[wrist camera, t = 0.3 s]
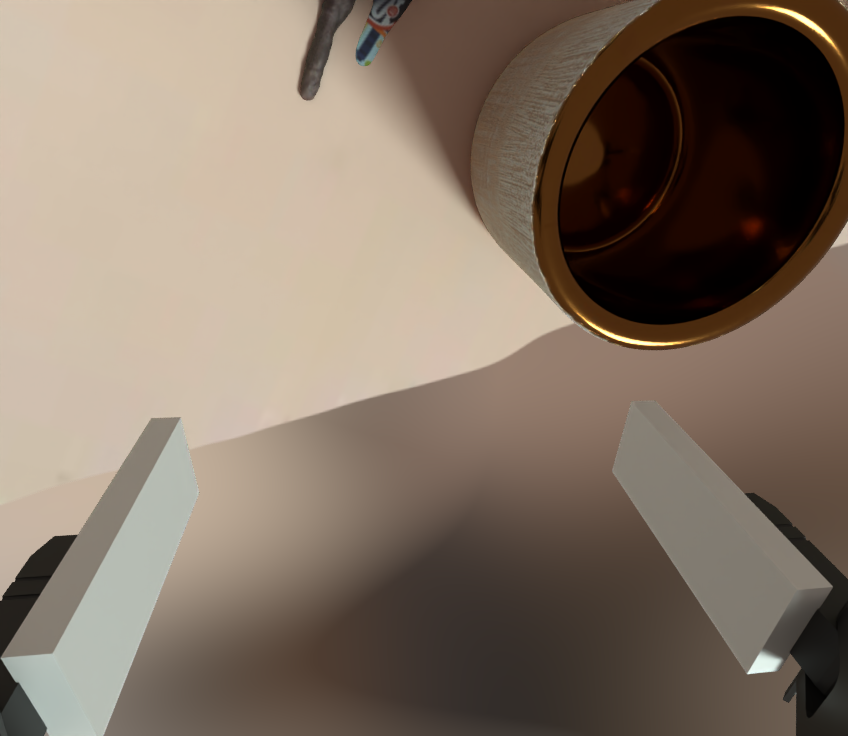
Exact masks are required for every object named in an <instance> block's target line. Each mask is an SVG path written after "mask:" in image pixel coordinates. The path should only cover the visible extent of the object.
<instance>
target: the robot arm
mask: <svg viewBox="0 0 848 736" xmlns="http://www.w3.org/2000/svg"><path fill="white" fill-rule="evenodd" d="M612 472H613V473H614V475H615V476H616V478H617V479H618V481H619V482H620V484H621V485H622V487H623V488H624V490H625V491H626V493H627V494H628V496H629V497H630V499H631V500H632V502H633V503H634V505H635V506H636V508H637V509H638V511H639V512H640V514H641V515H642V517H643V518H644V520H645V521H646V523H647V524H648V526H649V527H650V529H651V530H652V532H653V533H654V535H655V536H656V538H657V539H658V541H659V542H660V544H661V545H662V547H663V548H664V550H665V551H666V553H667V554H668V556H669V557H670V559H671V560H672V562H673V563H674V565H675V566H676V568H677V569H678V571H679V572H680V574H681V575H682V577H683V578H684V580H685V581H686V583H687V584H688V586H689V587H690V589H691V591H692V592H693V594H694V595H695V596H696V598H697V599H698V601H699V603H700V604H701V606H702V607H703V608H704V610H705V612H706V613H707V615H708V616H709V617H710V619H711V621H712V622H713V624H714V625H715V626H716V628H717V629H718V631H719V633H720V634H721V636H722V637H723V639H724V640H725V642H726V643H727V645H728V646H729V648H730V649H731V651H732V652H733V654H734V655H735V657H736V658H737V659H738V661H739V663H740V664H741V666H742V667H743V669H744V670H745V672H746V673H747V674H751V673H761V672H770V671H779V670H780V669H781V667H782V666H783V664H784V662H785V661H786V659H787V658H788V656H789V655H790V653H791V655H792V656H793V657H794V658H795V660H796V661H797V662H798V664H799V665H800V666H801V670H800V671H799V673H798V675H797V676H796V677H795V679H794V680H793V682H792V683H791V684H790V686H789V687H788V689H787V690H786V692H785V695H784V697H783V700H784V701H786V702H788V703H789V702H790V700H791V699H792V697H793V696H794V695H795V694H796V736H848V579H847V578H846V577H845V576H844V575H843V574H842V573H841V572H840V571H839V570H838V569H837V568H836V567H835V566H834V565H833V564H832V563H831V562H830V561H829V560H828V559H827V558H826V557H825V556H824V555H823V554H822V553H821V552H820V551H819V550H818V549H817V548H816V547H815V546H814V545H813V544H812V543H811V542H810V541H807V540H806V538H805V536H804V535H803V534H802V533H801V532H800V531H799V530H798V529H797V528H796V527H793V526H792V523H791V522H790V521H789V520H788V519H787V518H786V517H785V516H784V515H783V514H782V513H781V512H780V511H779V510H778V509H777V508H776V507H775V506H773V505H772V504H770V503H769V502H767V501H766V500H764V499H762V498H761V497H759V496H758V495H756V494H754V493H746V494H744V493H743V492H742V491H741V490H740V489H739V488H738V487H737V486H736V485H735V484H734V483H733V481H732V480H731V479H730V478H729V477H728V476H727V475H726V474H725V473H724V472H723V471H722V470H721V469H720V468H719V467H718V466H717V465H716V464H715V463H714V462H713V461H712V460H711V458H710V457H709V456H708V455H707V454H706V453H705V452H704V451H703V450H702V449H701V448H700V447H699V446H698V445H697V444H696V443H695V442H694V441H693V440H692V439H691V438H690V436H688V434H687V433H686V432H685V431H684V430H683V429H682V428H681V427H680V426H679V425H678V424H677V423H676V422H675V421H674V420H673V419H672V418H671V417H670V416H669V414H667V412H665V410H664V409H663V408H662V407H661V406H660V405H659V404H658V403H657V402H656V401H632V402H631V405H630V409H629V412H628V416H627V420H626V423H625V427H624V430H623V434H622V438H621V442H620V445H619V448H618V452H617V456H616V459H615V463H614V467H613V470H612ZM198 494H199V490H198V486H197V482H196V478H195V474H194V470H193V466H192V461H191V457H190V454H189V449H188V445H187V441H186V437H185V433H184V428H183V424H182V420H181V417H176V418H151V420H150V421H149V423H148V425H147V426H146V428H145V429H144V431H143V432H142V434H141V436H140V437H139V439H138V440H137V442H136V444H135V445H134V447H133V448H132V450H131V452H130V453H129V455H128V456H127V458H126V459H125V461H124V463H123V464H122V466H121V467H120V469H119V471H118V472H117V474H116V475H115V477H114V479H113V480H112V482H111V483H110V485H109V486H108V488H107V490H106V491H105V493H104V494H103V496H102V498H101V499H100V501H99V502H98V504H97V506H96V507H95V509H94V510H93V512H92V513H91V515H90V517H89V518H88V520H87V521H86V523H85V525H84V526H83V528H82V529H81V531H80V532H79V534H78V535H67V536H54V537H53V538H52V539H50V540H49V541H48V542H47V543H46V544H44V546H42V547H41V548H40V549H38V550H37V551H36V552H35V553H34V554H33V555H31V556H30V558H29V559H28V561H27V562H26V563H25V565H24V566H23V568H22V569H21V571H20V572H19V574H18V575H17V576H16V578H15V579H16V580H15V582H12V584H11V585H10V586H9V588H8V589H7V591H6V592H5V593H4V595H3V599H2V601H0V736H44V734H45V732H46V731H47V733H48V734H49V736H103V735H104V733H105V730H106V727H107V725H108V722H109V720H110V717H111V715H112V712H113V710H114V707H115V705H116V702H117V700H118V697H119V695H120V692H121V690H122V687H123V685H124V682H125V679H126V677H127V674H128V672H129V669H130V667H131V664H132V662H133V659H134V657H135V654H136V652H137V649H138V646H139V644H140V641H141V639H142V636H143V634H144V631H145V629H146V626H147V624H148V621H149V619H150V616H151V613H152V611H153V609H154V606H155V604H156V601H157V598H158V596H159V593H160V591H161V588H162V586H163V583H164V581H165V578H166V576H167V573H168V571H169V568H170V566H171V563H172V560H173V558H174V555H175V553H176V550H177V548H178V545H179V543H180V540H181V538H182V535H183V533H184V530H185V528H186V525H187V523H188V520H189V517H190V515H191V512H192V510H193V507H194V505H195V502H196V500H197V497H198Z"/></svg>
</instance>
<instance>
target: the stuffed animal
mask: <svg viewBox="0 0 848 736" xmlns="http://www.w3.org/2000/svg"><path fill="white" fill-rule="evenodd" d="M411 1H412V0H373V6H372V10H371V12H370V14H369V17H368V19H367V22H366V25H365V27H364V30H363V32H362V34H361V37H360V39H359V42H358V45H357V48H356V60H357V62H358V64H359V65H361V66H368V65H369V64H371V62H372V61H373V59H374V57H375V56H376V54H377V52H378V50H379V48H380V46H381V44H382V42H383V40H384V38H385V36H386V35H387V33H388V32H389V31H390V29H391V28H392V27H393V26H394V24H395V23H396V22H397V21H398V19H399V18H400V17H401V15H402V14H403V13H404V11H405V10H406V8H407V7H408V5H409V4H410V2H411ZM354 3H355V0H325V2H324V3H323V5H322V13H321V16H320V18H319V20H318V24H317V31H316V33H315V37H314V39H313V42H312V45H311V47H310V50H309V53H308V56H307V60H306V66H305V70H304V75H303V78H302V83H301V97H302V98H303V99H304V100H312V99H313V98H314V96H315V95H316V93H317V91H318V89H319V87H320V81H321V77H322V75H323V70H324V67H325V65H326V62H327V60H328V57H329V52H330V49H331V46H332V40H333V35H334V33H335V31H336V30H337V28H338V27H339V26H340V25H341V23H342V22H343V21H344V20H345V19H346V17H347V16H348V14H349V13H350V12H351V10H352V8H353V5H354Z"/></svg>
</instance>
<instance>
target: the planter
mask: <svg viewBox="0 0 848 736" xmlns="http://www.w3.org/2000/svg"><path fill="white" fill-rule="evenodd" d="M471 181H472V188H473V194H474V198H475V202H476V205H477V208H478V211H479V213H480V216H481V218H482V220H483V222H484V224H485V226H486V228H487V230H488V231H489V233H490V234H491V236H492V237H493V239H494V240H495V241H496V243H497V244H498V245H499V246H500V247H501V248H502V249H503V251H504V252H505V253H506V254H507V255H508V256H509V257H510V258H511V259H512V260H513V261H514V262H515V263H516V264H517V265H518V266H519V267H520V268H521V269H522V270H523V271H524V272H525V273H526V274H527V275H528V276H529V277H530V278H531V279H532V280H533V281H534V282H535V283H536V284H537V285H538V286H539V287H540V288H541V289H542V290H543V291H544V292H545V293H546V294H547V295H548V296H549V297H550V298H551V300H552V301H553V302H554V303H555V304H556V305H557V306H558V307H559V308H560V309H561V310H562V311H563V312H564V313H565V314H566V315H567V316H568V317H569V318H570V319H571V320H572V321H573V322H575V323H576V324H577V325H578V326H580V327H581V328H582V329H584V330H585V331H587V332H589V333H590V334H592V335H594V336H596V337H598V338H600V339H602V340H604V341H607V342H609V343H612V344H615V345H619V346H623V347H627V348H633V349H641V350H668V349H677V348H683V347H688V346H692V345H696V344H700V343H703V342H706V341H710V340H712V339H715V338H718V337H720V336H722V335H725V334H727V333H729V332H731V331H734V330H736V329H738V328H740V327H741V326H743V325H745V324H747V323H749V322H750V321H752V320H754V319H755V318H757V317H758V316H760V315H761V314H763V313H764V312H766V311H767V310H769V309H770V308H771V307H773V306H774V305H775V304H777V303H778V302H779V301H780V300H782V299H783V298H784V297H785V296H786V295H788V294H789V293H790V292H791V291H792V290H793V289H794V288H795V287H796V286H797V285H799V284H800V283H801V282H802V281H803V280H804V278H805V277H806V276H807V275H808V274H809V273H810V272H811V271H812V270H813V269H814V268H815V267H816V265H817V264H818V263H819V262H820V260H821V259H822V258H823V257H824V255H825V254H826V253H827V252H828V250H829V249H830V248H831V246H832V245H833V243H834V242H835V240H836V239H837V237H838V236H839V234H840V233H841V231H842V230H843V228H844V226H845V225H846V223H847V221H848V10H847V9H846V8H845V7H844V6H843V5H842V4H841V3H840V2H839V1H838V0H634V1H630V2H627V3H623V4H619V5H616V6H612V7H609V8H605V9H602V10H598V11H595V12H591V13H588V14H585V15H581V16H578V17H576V18H573V19H570V20H568V21H566V22H563V23H561V24H559V25H557V26H555V27H554V28H552V29H550V30H548V31H547V32H545V33H544V34H542V35H541V36H539V37H538V38H536V39H535V40H534V41H532V42H531V43H530V44H529V45H528V46H526V47H525V48H524V49H523V50H522V51H521V52H520V53H519V54H518V55H517V56H516V57H515V58H514V59H513V60H512V61H511V62H510V64H509V65H508V66H507V67H506V68H505V70H504V71H503V72H502V74H501V75H500V76H499V78H498V79H497V81H496V82H495V84H494V86H493V87H492V89H491V91H490V93H489V95H488V97H487V99H486V101H485V103H484V105H483V108H482V110H481V113H480V115H479V118H478V121H477V125H476V128H475V132H474V137H473V143H472V150H471Z"/></svg>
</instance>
